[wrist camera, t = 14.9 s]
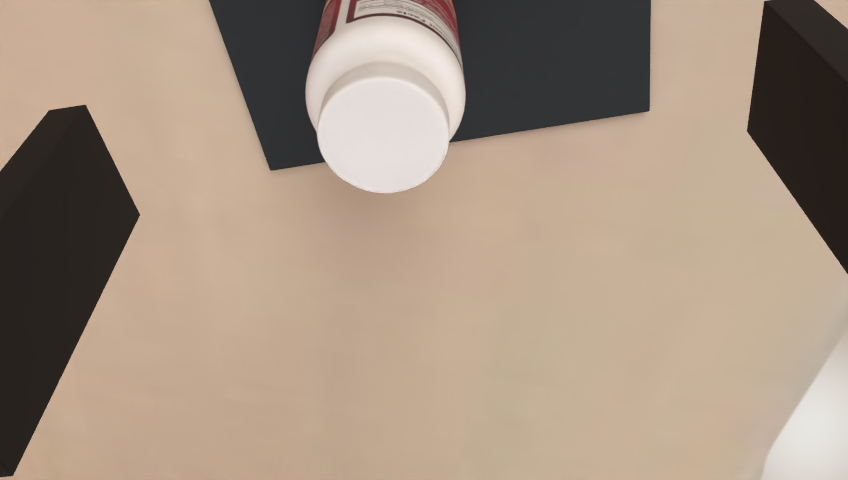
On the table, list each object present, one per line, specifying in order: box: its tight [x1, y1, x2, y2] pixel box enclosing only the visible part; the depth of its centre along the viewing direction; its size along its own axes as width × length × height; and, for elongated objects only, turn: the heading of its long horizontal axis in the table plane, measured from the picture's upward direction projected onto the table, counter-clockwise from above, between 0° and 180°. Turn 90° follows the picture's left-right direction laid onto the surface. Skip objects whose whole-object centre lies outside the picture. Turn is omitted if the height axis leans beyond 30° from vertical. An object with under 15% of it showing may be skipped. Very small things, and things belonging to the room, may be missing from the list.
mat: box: [209, 0, 651, 170], centre depth 34 cm, size 20×14×1 cm
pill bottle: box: [305, 0, 466, 193], centre depth 30 cm, size 6×6×11 cm
